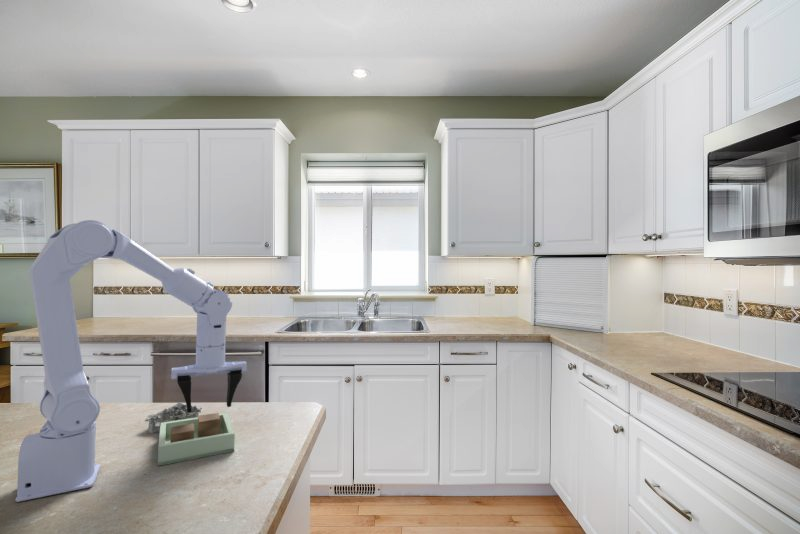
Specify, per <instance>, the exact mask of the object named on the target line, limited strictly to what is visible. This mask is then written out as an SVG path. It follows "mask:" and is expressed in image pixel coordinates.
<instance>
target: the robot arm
mask: <svg viewBox="0 0 800 534" xmlns="http://www.w3.org/2000/svg"><path fill="white" fill-rule="evenodd" d="M98 259H111V260H120V261H123V262H125V263H126V264H129V265H130V266H132V267H134V268H135V269H138V270H140V271H142V272H144V273H145V274H147V275H149V276H150V277H152V278H154V279H156V280H158V281H159V282H161V285H162V289H163V292H165V293H166V294H169V295H170V296H172V297H174V298H176V299H177V300H179V301H181V302H182V303H184V304H186V305H187V306H189V307H191V308H192V310H193V311H194V312H195V313H196V337H195V339H196V341H195V342H196V344H195V364H192V365H185V366H179V367H178V366H177V367H171V372H170V373H171V377H170V378H171V379H170V380H176V382H177V385H178V387H179V389H180V391H181V393H182V395H183V398H184V400H185V405H187V413H190V412H191V406H192V399H191V398H192V395H191V392H192V377H199V376H208V375H209V376H210V375H217V374H218V375H220V374H227V391H226V392H227V394H226V406H227V408H230V407H232V401H233V398H234V396H235V393H236V390H237V387H238V385H239V383H240V382H241V381H242V380H241V379H242V378H243V374H242V373H245V372H247V371H248V369H247V368H248V362H246V361H226V338H227V337H226V335H227V332H226V331H227V316H228V314H229V313H230V311H231V310H232V307H233V302H232V301H231V298H230V297H229V295H228V294H227V292H226V291H224V290H221V289H214V284H213V283H212V282H210V281H208V282H207V281H205V280H203V279H201V278H200V277H198V276H196V275H195V274H196V271H195V270H194V269H192V268H184V267H178V268H173V267H171V266H170V265H168V263H165V262H164V261H163V260H161V259H160V258H158V257H157V256H156V255H154V254H152V253H151V252H149V251H148V250H146V249H145V248H144V247H142V246H141V245H139V244H138V243H137V242H135V241H134V240H132V239H131V238H129V237H128V236H126V235H125V234H124V233H122V232H120V231H118V230H115V229H111V228H110V227H109V226H108V225H107V224H105V223H103V222H101V221H99V220H93V219H87V220H81V221H79V222H77V223H76V222H75V223H71V224H70V223H69V224H67V225H65V226H63V227H61V228H60V229H59V230H57V231H55V232H54V233H52V234H51V235H50V236H49V237H48V239H47V242H46V244H44V246H43V248H42V249H41V250H40V252H39V254H38V255H37V257H36V258H35V259H34V261H33V262H32V264H31V265H30V267H29V272H28V274H29V281H30V282H29V283H30V287H31V293H32V300H33V305H34V313H35V318H36V319H35V320H36V324H37V331H38V338H39V344H40V349H41V350H40V351H41V355H42V362H43V369H44V375H45V376H44V379H43V380H44V381H43V388H44V389H43V390H44V391H43V392H44V393H43V396H42V397H41V398H42V399H40V403H39V411H40V413H41V415H42V417H44V418H45V419H47V420H46V422H45V423H44V424H43V426H42V427H41V428H40V430H39V432H37V433H36V432H35V433H32V434H28V435H25V436H24V437H23V440H22V442H21V444H20V447H19V448H20V449H19V453H18V461H17V462H18V463H17V464H18V465H17V486H16V488H17V490H16V491H17V492H16V497H15V502H18V503H19V502H24V501H28V500H33V499H40V498H43V497H48V496H53V495H58V494H64V493H68V492H73V491H77V490H82V489H83V490H84V489H88V488H92V487H93V486H94V484H95V482H96V479H97V476H98V474H99V471H100V468H101V463H95V462H96V431H97V430H96V429H97V419H98V417H99V414H100V412H101V411H100V410H101V409H100V408H101V406H100V402H99V401H98V399H97V398H96V397H95V396H94V395H93V394H92V392H91V389H90V384H89V381H88V379H87V376H86V374H85V372H84V371H85V370H84V364H83V358H82V352H81V346H80V345H81V344H80V338H79V331H78V323H77V318H76V310H75V305H74V298H73V292H72V283H71V278H72V277H74V276H75V275H76V274H77V273H78V272H79V271H81V269H83V268H84V267H85V266H86V265H87V264H89V263H91V262H94V261H97V260H98Z"/></svg>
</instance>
